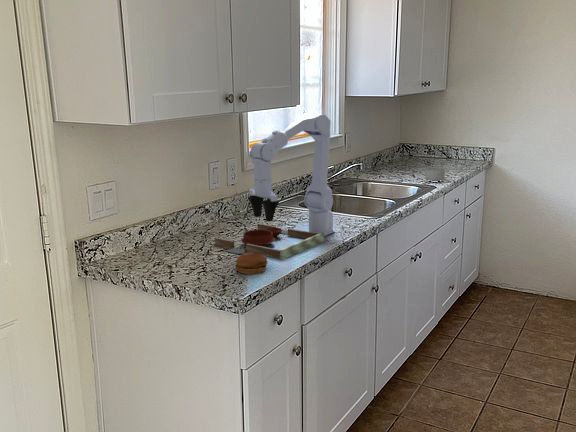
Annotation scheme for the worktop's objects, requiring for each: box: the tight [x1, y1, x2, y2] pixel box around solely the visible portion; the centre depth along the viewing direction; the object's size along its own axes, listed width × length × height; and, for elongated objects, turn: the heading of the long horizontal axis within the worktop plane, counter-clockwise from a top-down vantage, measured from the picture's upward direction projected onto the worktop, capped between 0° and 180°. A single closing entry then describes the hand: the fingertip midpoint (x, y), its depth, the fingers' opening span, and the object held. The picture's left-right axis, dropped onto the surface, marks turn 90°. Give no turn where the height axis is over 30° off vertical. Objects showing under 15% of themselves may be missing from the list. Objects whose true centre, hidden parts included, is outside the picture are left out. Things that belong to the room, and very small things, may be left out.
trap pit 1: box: [224, 247, 247, 256], centre depth 190 cm, size 4×6×1 cm, turn 55°
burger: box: [235, 252, 268, 275], centre depth 172 cm, size 10×9×5 cm
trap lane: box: [214, 223, 325, 260], centre depth 199 cm, size 25×29×3 cm
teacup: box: [424, 166, 446, 181], centre depth 317 cm, size 14×11×8 cm
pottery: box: [240, 227, 283, 247], centre depth 201 cm, size 12×20×4 cm, turn 152°
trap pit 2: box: [280, 229, 288, 236], centre depth 213 cm, size 4×6×1 cm, turn 55°
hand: (263, 218), depth 192 cm, fingers open, 7 cm apart
